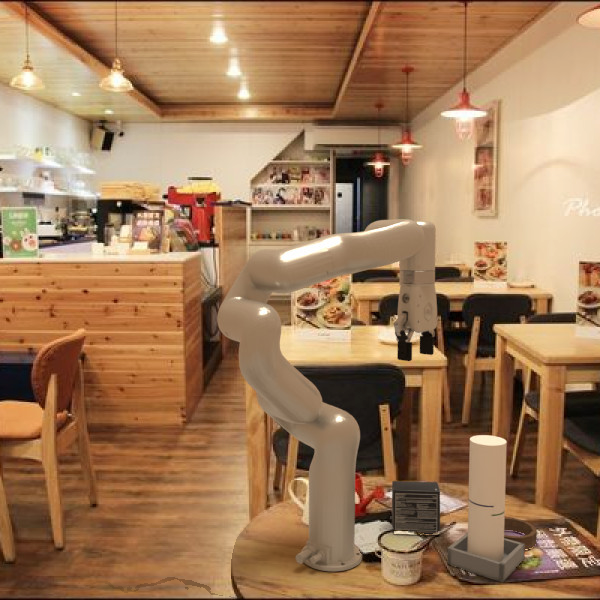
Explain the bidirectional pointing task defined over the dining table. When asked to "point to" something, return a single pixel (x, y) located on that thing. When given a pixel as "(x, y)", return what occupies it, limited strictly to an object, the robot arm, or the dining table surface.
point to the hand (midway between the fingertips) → (415, 357)
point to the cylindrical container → (487, 496)
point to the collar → (522, 527)
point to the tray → (486, 559)
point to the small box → (416, 506)
